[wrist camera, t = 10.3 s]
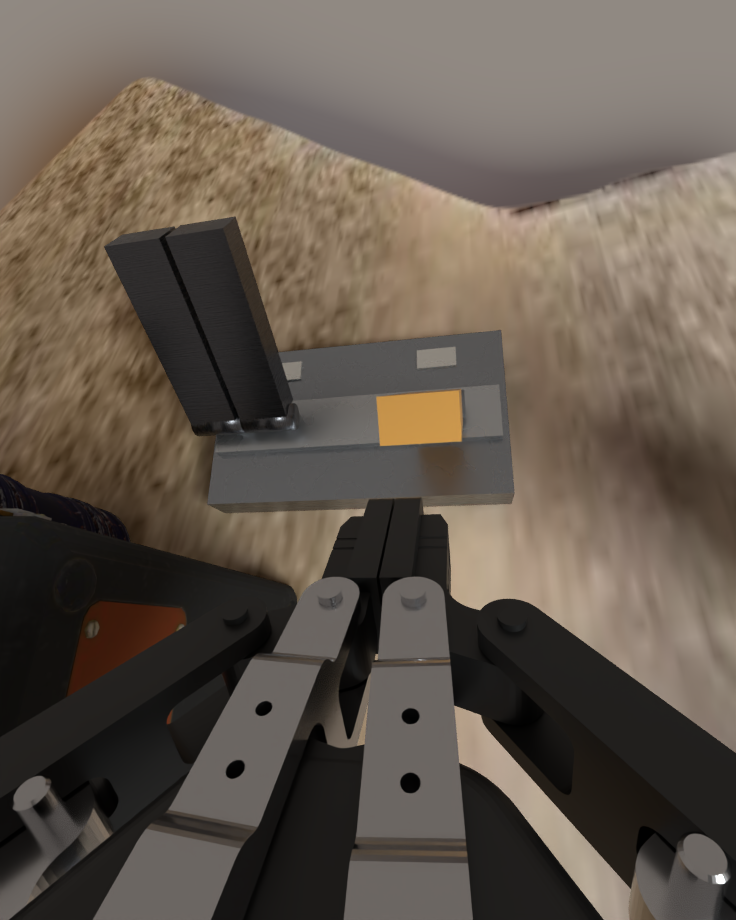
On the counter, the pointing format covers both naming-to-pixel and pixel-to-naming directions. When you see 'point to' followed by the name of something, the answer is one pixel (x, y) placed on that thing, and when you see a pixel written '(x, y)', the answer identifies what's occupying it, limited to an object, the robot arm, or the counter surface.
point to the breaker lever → (421, 417)
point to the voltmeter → (96, 609)
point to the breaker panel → (306, 388)
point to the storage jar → (60, 509)
